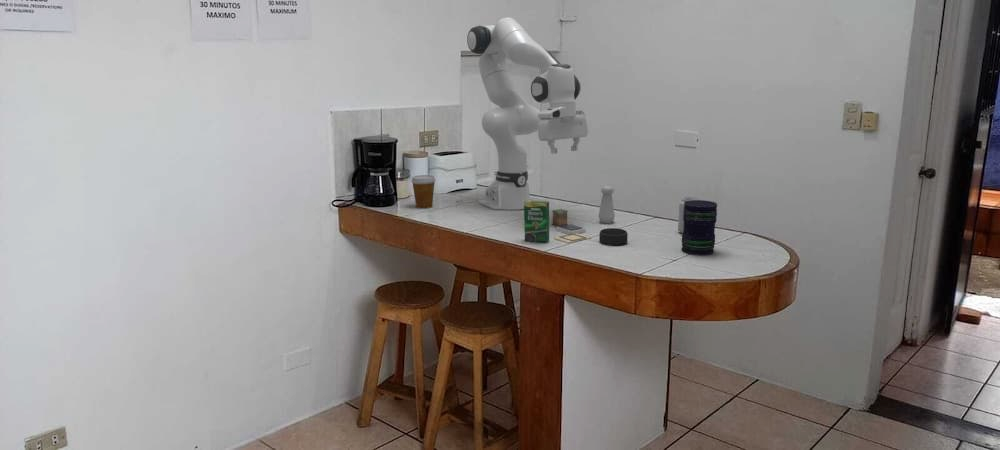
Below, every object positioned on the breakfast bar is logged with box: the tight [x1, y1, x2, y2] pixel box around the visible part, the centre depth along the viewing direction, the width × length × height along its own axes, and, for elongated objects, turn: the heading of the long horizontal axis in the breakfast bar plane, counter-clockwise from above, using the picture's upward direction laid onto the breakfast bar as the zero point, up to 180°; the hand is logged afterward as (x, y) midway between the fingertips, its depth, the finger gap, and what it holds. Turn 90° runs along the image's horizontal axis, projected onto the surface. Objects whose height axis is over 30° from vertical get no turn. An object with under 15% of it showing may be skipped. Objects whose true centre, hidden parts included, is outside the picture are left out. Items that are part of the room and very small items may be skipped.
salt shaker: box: [598, 185, 616, 225], centre depth 254 cm, size 6×6×13 cm
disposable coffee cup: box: [411, 174, 436, 209], centre depth 281 cm, size 10×10×12 cm
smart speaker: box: [598, 227, 629, 246], centre depth 228 cm, size 9×9×4 cm
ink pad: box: [555, 223, 586, 235], centre depth 242 cm, size 8×6×2 cm
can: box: [677, 196, 702, 235], centre depth 238 cm, size 8×8×12 cm
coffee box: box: [523, 200, 550, 244], centre depth 229 cm, size 8×3×13 cm, turn 67°
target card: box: [553, 233, 592, 244], centre depth 233 cm, size 7×10×1 cm
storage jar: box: [681, 199, 718, 256], centre depth 216 cm, size 10×10×15 cm
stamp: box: [551, 208, 569, 227], centre depth 251 cm, size 4×4×5 cm
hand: (564, 152), depth 247 cm, fingers open, 8 cm apart
